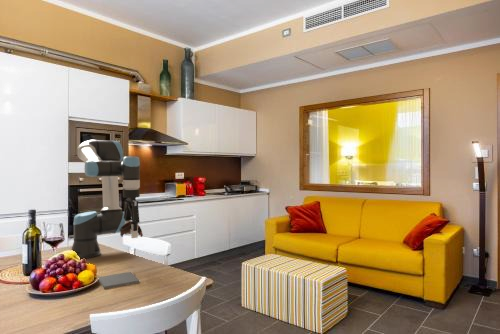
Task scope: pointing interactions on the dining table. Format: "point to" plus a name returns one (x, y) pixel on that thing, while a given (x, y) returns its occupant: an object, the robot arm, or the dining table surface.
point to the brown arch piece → (127, 227)
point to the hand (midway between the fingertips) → (131, 235)
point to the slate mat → (118, 280)
